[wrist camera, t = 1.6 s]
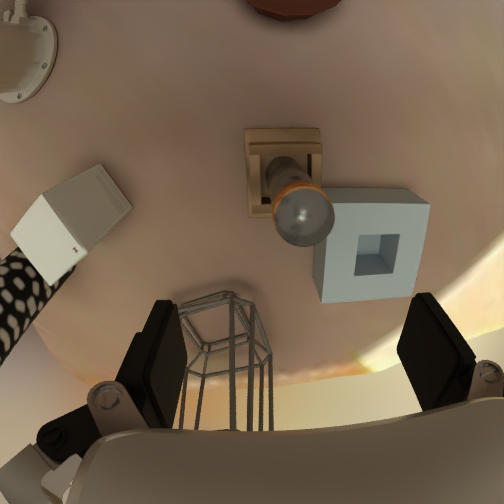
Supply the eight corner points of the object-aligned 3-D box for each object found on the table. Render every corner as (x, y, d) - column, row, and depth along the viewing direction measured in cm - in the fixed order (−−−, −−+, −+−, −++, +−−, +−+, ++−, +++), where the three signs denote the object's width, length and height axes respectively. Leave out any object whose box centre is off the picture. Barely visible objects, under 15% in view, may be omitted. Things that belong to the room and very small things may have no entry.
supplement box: (101, 161, 33) (41, 190, 22) (134, 208, 36) (89, 255, 25) (65, 195, 35) (7, 233, 23) (97, 237, 38) (49, 289, 26)
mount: (244, 128, 32) (244, 131, 28) (317, 127, 32) (325, 130, 28) (248, 213, 36) (248, 226, 33) (316, 211, 36) (323, 224, 33)
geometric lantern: (252, 260, 39) (271, 583, 8) (283, 344, 46) (312, 574, 15) (144, 291, 41) (62, 547, 10) (190, 364, 48) (167, 573, 17)
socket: (316, 187, 35) (328, 203, 30) (407, 188, 35) (430, 204, 29) (312, 276, 40) (321, 303, 35) (394, 271, 40) (411, 295, 35)
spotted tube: (85, 259, 39) (9, 356, 21) (59, 286, 41) (-8, 376, 23) (49, 216, 36) (-45, 294, 18) (26, 248, 38) (-54, 325, 20)
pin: (263, 155, 32) (273, 189, 19) (302, 155, 32) (337, 188, 19) (264, 193, 34) (274, 249, 21) (302, 192, 34) (334, 247, 21)
